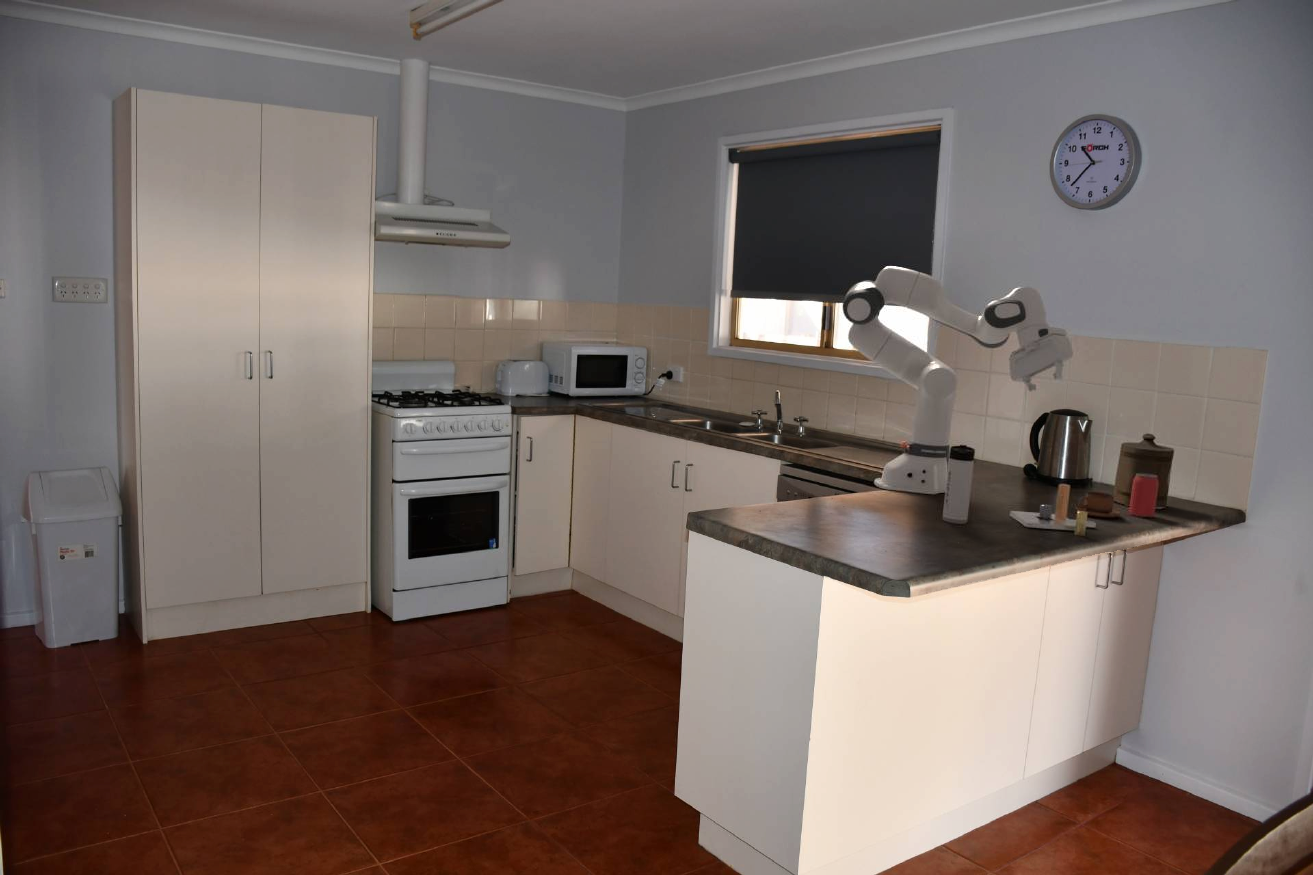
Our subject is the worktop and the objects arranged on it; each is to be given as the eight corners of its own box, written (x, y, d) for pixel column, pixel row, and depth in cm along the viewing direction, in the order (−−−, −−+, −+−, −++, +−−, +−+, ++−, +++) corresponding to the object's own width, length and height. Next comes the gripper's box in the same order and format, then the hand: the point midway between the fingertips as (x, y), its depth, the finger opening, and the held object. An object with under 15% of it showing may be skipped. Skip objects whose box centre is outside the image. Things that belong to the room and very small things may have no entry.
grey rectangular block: (1040, 524, 262) (1042, 506, 262) (1036, 522, 265) (1038, 504, 265) (1051, 525, 262) (1054, 507, 262) (1047, 523, 265) (1050, 504, 265)
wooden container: (1177, 509, 297) (1187, 437, 294) (1137, 510, 293) (1147, 436, 289) (1140, 499, 311) (1150, 430, 308) (1101, 499, 307) (1111, 429, 303)
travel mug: (967, 520, 262) (975, 446, 259) (966, 525, 256) (975, 449, 253) (943, 517, 264) (951, 443, 261) (941, 521, 258) (949, 446, 255)
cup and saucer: (1100, 521, 273) (1103, 499, 272) (1065, 511, 283) (1068, 490, 282) (1129, 519, 278) (1132, 498, 278) (1093, 510, 289) (1096, 489, 288)
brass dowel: (1076, 535, 252) (1079, 512, 251) (1073, 533, 255) (1076, 510, 254) (1086, 536, 252) (1089, 513, 251) (1082, 533, 255) (1085, 511, 254)
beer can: (1153, 515, 286) (1159, 474, 284) (1154, 519, 280) (1160, 478, 278) (1128, 511, 289) (1134, 471, 287) (1128, 515, 283) (1134, 474, 281)
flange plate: (1026, 526, 257) (1030, 488, 256) (1009, 515, 271) (1014, 478, 270) (1103, 532, 256) (1109, 494, 255) (1083, 520, 270) (1088, 484, 269)
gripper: (1000, 353, 292) (1010, 396, 288) (1054, 325, 275) (1065, 371, 270) (1016, 355, 295) (1025, 398, 290) (1070, 327, 277) (1081, 373, 273)
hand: (1045, 385), depth 280 cm, fingers open, 8 cm apart
